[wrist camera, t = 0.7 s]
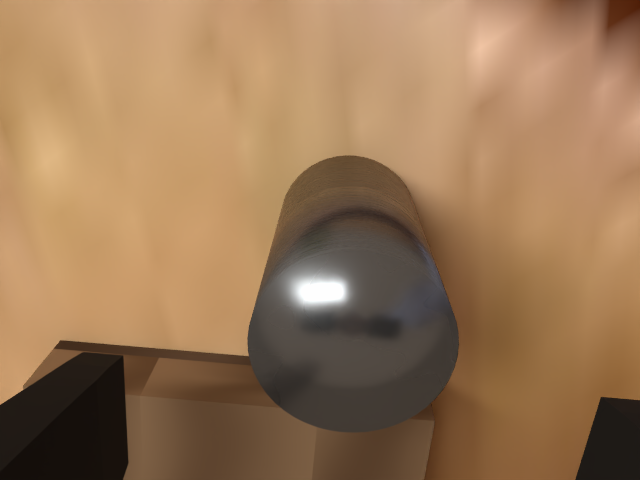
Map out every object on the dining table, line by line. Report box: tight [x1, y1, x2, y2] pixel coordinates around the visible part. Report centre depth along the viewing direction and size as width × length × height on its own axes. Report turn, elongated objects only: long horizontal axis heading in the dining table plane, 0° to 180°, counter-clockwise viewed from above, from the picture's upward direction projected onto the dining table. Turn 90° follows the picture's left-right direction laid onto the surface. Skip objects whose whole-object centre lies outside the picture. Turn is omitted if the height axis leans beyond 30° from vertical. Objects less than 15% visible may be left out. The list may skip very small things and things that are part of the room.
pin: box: [248, 156, 459, 433], centre depth 15 cm, size 4×4×7 cm
